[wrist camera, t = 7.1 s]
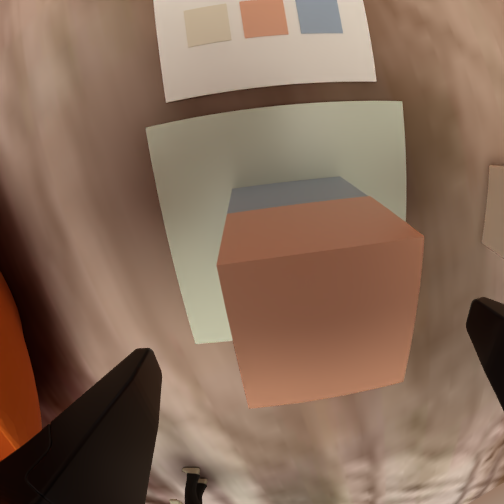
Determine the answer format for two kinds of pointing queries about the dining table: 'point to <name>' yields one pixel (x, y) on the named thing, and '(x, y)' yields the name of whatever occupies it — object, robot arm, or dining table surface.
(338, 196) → the brick base
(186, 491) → the toy
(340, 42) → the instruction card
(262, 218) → the brick
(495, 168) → the brick
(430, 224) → the dining table surface
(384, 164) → the plate
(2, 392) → the bowl
